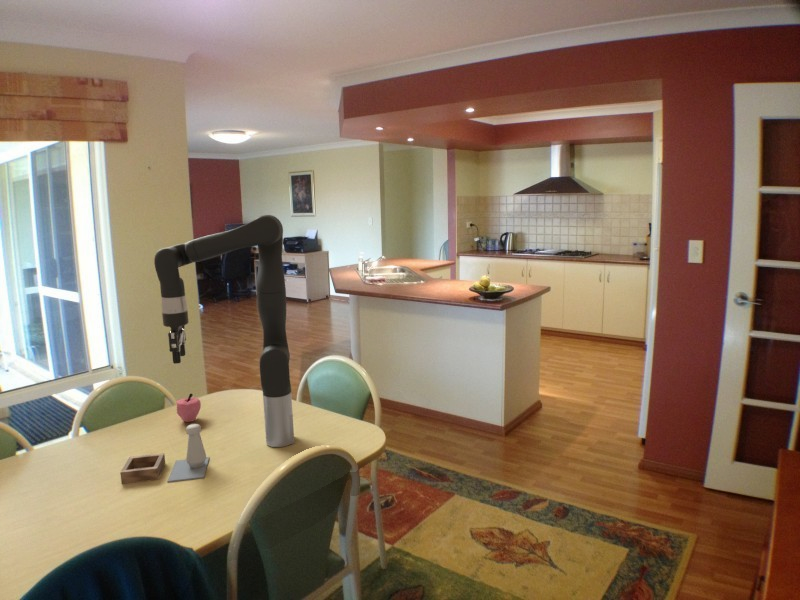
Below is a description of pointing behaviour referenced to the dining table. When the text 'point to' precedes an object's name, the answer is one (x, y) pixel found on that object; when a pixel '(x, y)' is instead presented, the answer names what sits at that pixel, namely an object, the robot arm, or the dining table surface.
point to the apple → (188, 408)
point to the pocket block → (143, 468)
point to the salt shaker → (195, 447)
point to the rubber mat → (186, 471)
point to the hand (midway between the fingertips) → (179, 359)
